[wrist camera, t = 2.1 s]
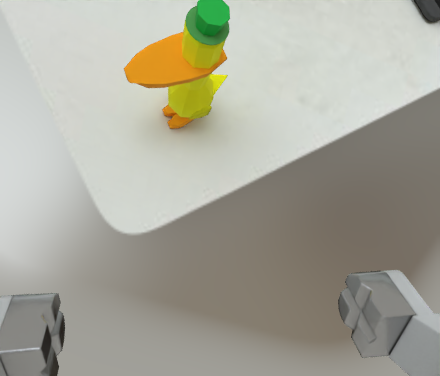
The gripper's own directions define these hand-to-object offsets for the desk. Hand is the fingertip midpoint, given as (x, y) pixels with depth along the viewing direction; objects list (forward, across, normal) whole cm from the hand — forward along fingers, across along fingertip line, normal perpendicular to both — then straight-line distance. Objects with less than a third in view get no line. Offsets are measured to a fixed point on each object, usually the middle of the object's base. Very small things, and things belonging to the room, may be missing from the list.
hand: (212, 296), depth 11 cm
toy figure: (+20, 0, +3) cm, 20 cm away
